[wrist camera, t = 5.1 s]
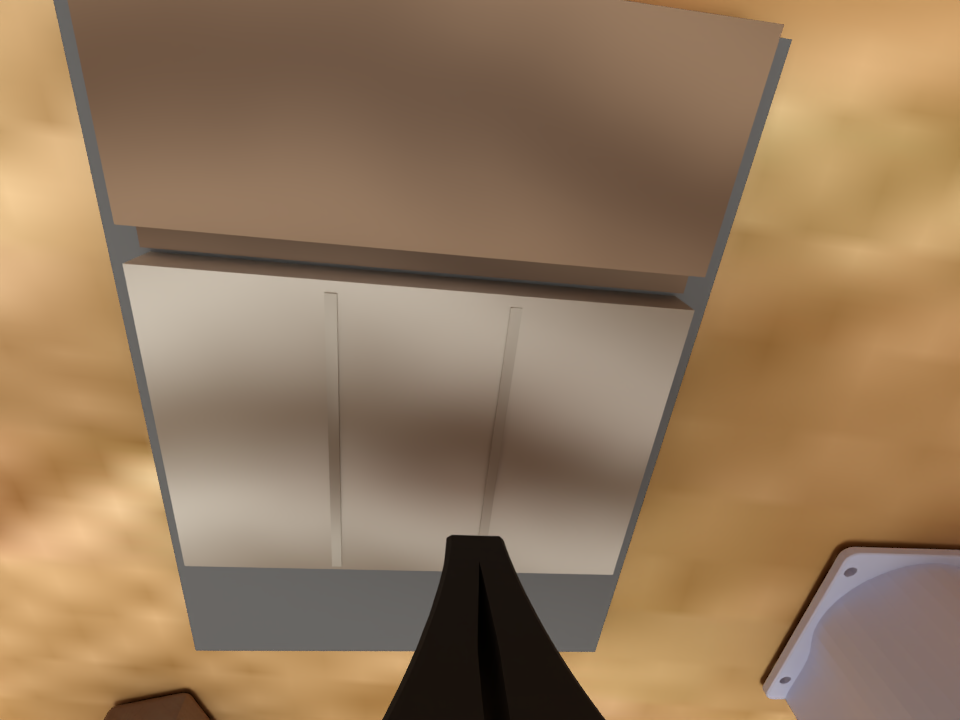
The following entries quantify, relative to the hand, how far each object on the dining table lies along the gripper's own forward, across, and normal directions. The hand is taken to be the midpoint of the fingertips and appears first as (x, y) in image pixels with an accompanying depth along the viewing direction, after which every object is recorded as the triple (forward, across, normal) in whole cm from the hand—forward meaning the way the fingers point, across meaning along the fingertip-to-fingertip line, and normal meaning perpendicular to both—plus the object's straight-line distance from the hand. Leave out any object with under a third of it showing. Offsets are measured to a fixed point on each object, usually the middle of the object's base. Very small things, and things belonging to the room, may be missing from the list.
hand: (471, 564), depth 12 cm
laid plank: (+5, +2, -10) cm, 11 cm away
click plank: (+4, +2, -1) cm, 5 cm away
